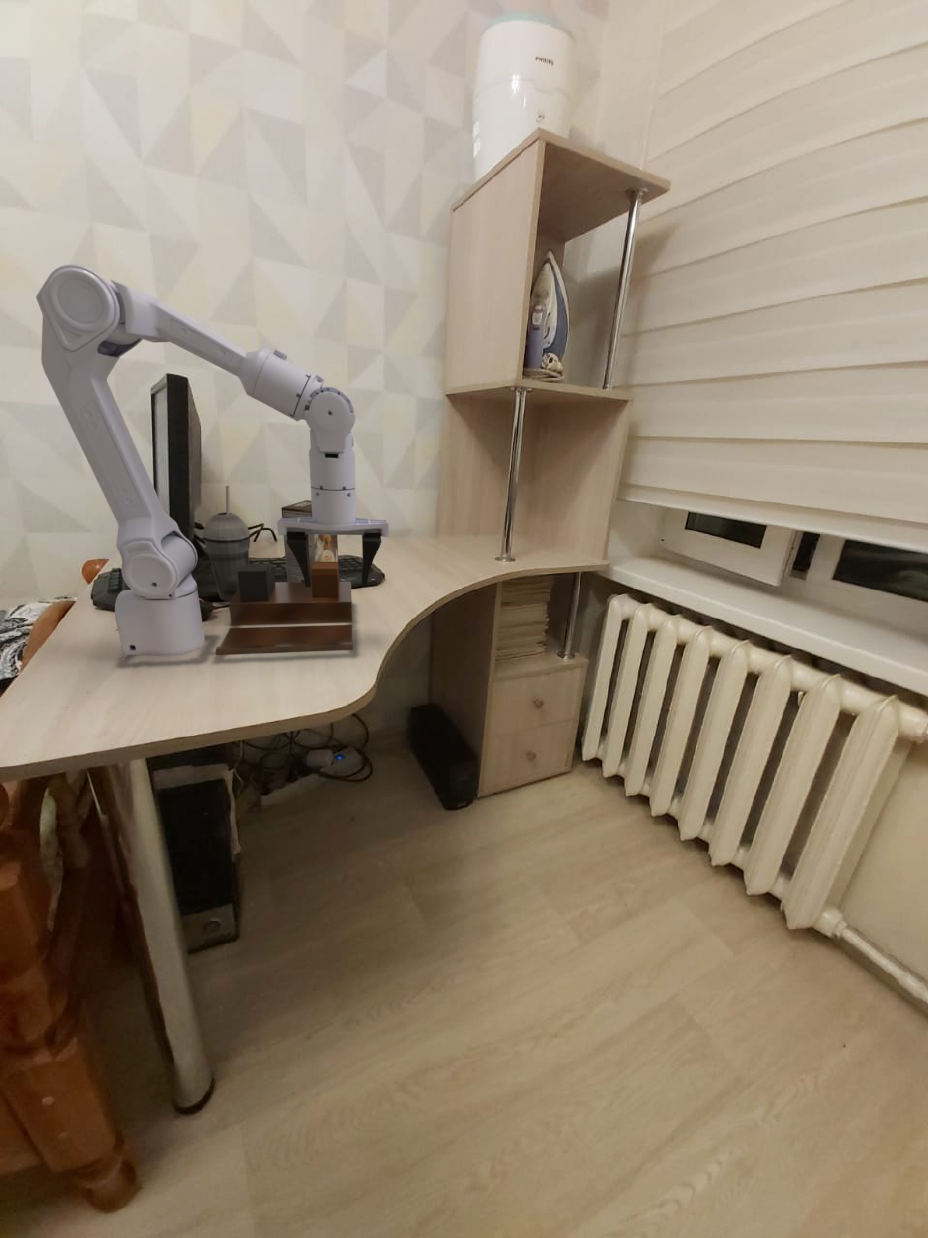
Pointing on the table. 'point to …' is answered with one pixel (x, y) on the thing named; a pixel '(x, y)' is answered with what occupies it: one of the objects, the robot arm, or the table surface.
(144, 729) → the table surface
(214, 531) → the beverage cup
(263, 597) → the dark grey block
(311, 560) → the coffee box
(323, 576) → the brown block
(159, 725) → the table surface
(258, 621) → the shoe stand
